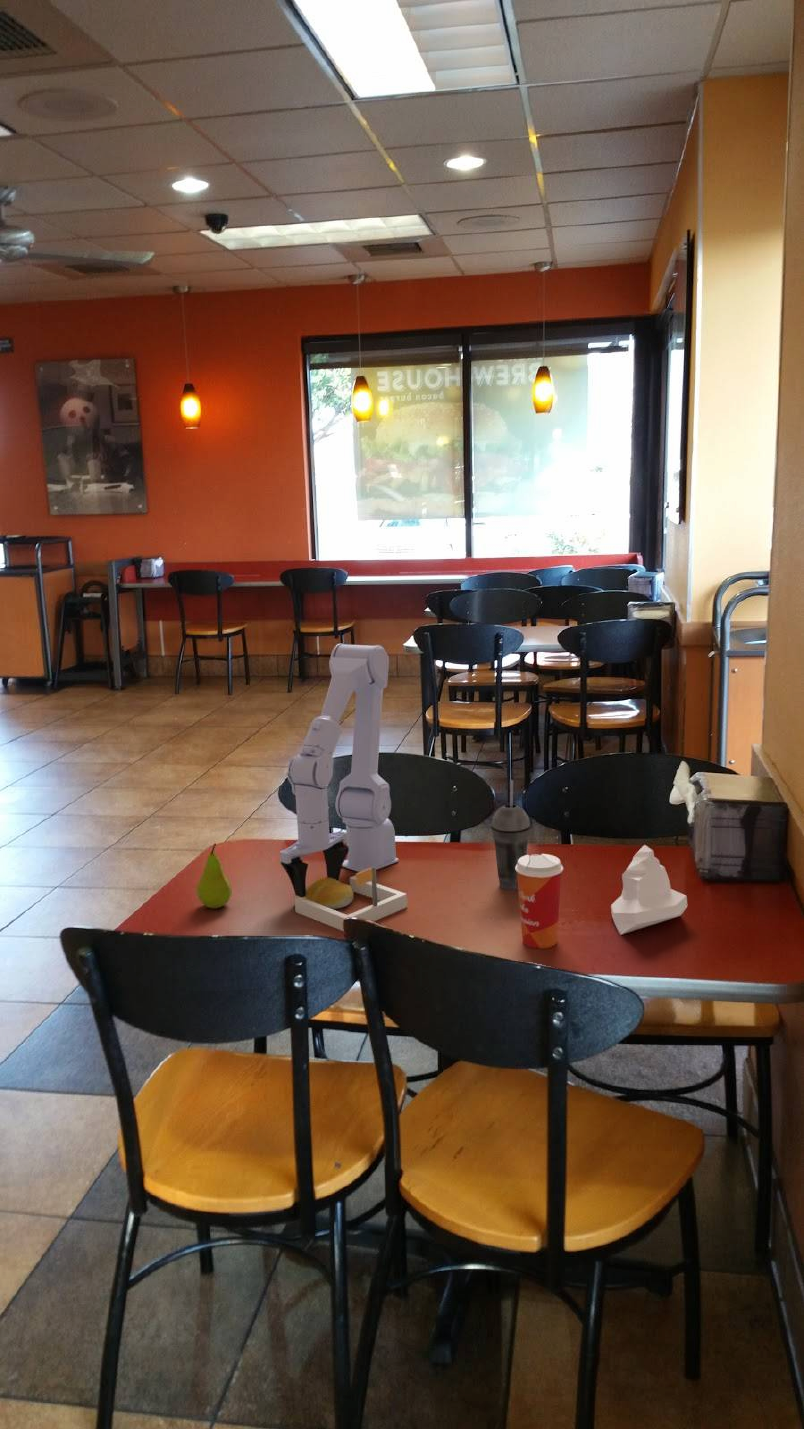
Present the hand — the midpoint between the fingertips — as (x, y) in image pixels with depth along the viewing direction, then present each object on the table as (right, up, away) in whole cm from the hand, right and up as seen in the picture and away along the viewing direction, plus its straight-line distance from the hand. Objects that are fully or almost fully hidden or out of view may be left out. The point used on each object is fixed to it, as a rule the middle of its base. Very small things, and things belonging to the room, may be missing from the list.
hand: (316, 889), depth 196 cm
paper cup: (+38, -5, -22) cm, 44 cm away
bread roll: (+2, -2, -2) cm, 4 cm away
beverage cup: (+36, 0, +2) cm, 36 cm away
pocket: (+6, -3, -6) cm, 9 cm away
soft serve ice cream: (+57, -3, -17) cm, 59 cm away
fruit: (-18, -3, -2) cm, 19 cm away
